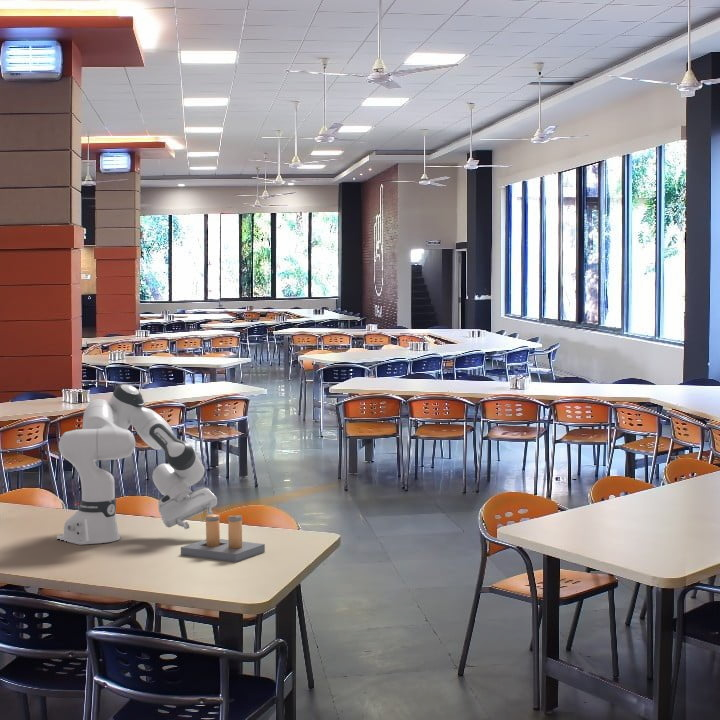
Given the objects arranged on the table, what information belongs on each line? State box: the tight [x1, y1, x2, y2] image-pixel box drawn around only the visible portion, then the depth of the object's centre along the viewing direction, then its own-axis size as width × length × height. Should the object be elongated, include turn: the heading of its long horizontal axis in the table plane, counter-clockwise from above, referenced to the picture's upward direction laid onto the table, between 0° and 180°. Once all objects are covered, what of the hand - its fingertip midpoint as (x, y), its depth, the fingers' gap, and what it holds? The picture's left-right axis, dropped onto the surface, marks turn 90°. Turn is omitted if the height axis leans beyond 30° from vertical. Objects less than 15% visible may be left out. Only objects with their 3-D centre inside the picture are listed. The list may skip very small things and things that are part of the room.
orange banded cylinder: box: [205, 514, 221, 547], centre depth 327 cm, size 4×4×12 cm
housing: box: [180, 514, 266, 563], centre depth 325 cm, size 22×16×12 cm
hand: (199, 521), depth 346 cm, fingers open, 8 cm apart
